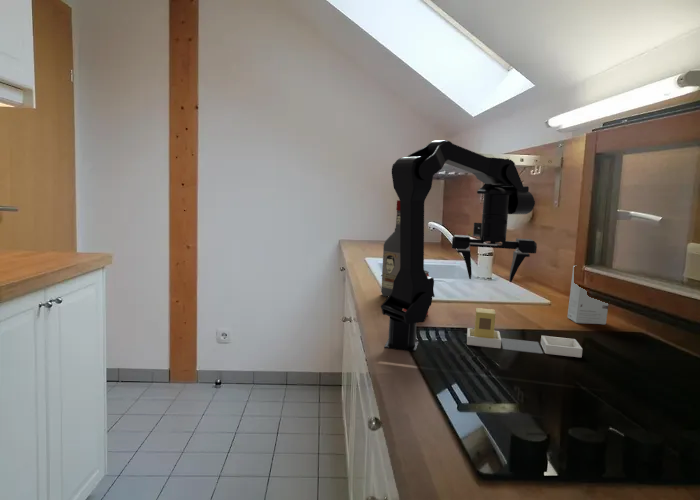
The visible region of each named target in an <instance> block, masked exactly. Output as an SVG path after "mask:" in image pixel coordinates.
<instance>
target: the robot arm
mask: <svg viewBox="0 0 700 500" xmlns="http://www.w3.org/2000/svg"><path fill="white" fill-rule="evenodd" d="M445 164H446V165H449V166H452V167H454V168H457V169H460V170H463V171H466V172H468V173H470V174H471V173H472V175H475V178H476V179H477V180H478V181H480V182H482V183H483V185H482V187H479V189H478V190H477V191H476V194H478V195H483V200H482V215H481V216H482V217H481V222H473V230H472V231H473V233H472V236H473V237H478V238H479V239H477V238H471V237H470V235H463V234H454V235H453V236H452V239H451V249H455V250H456V251H457V253H458V254H462V257H463V260H464V262H465V267H466V271H467V274H468V278H469V280H472V259H471V258H472V257H471V256H472V255H471V249H470V248H471V247H473V248H491V249H505V250H506V249H507V250H513V253H512V262H511V266H510V270H509V271H510V272H509V275H508V276H509V278H508V281H509V282H510V283H512V282H513V279H514V277H515V275H516V273H517V271H518V270H519V267H520V266H521V264H522V263H523V261H524V260H525V258H529V257H531V254H537V250H538V249H537V248H538V246H537V242H536V241H535V240H533V239H531V238H516V239H515V241H512V240H507V233H508V232H507V231H508V221H509V220H508V219H509V217H508V216H509V215H528V214H530V213H531V212H532V211H533V210H534V207H535V206H536V201H535V198H534V195H533V194H532V192H530V191H529V189H530V187H529V186H524V184H523V182H522V178H521V176H520V174H519V171H518V170H517V167H516V164H515V162H514V160H512V159H508V158H500V157H491V156H490V157H489V156H486V155H485V156H484V155H483V154H481V153H480V154H479V153H477V152H475V151H472V150H470V149H467V148H465V147H462V146H461V145H457V144H455V143H453V142H452V141H450V140H447V139H442V140H433V141H431V142H430V143H428V144H426V145H425V146H424V147H421V148H420V149H418V150H416V151H414V152H412V153H410V154H408V155H407V156H406V157H404V156H403V157H400V158H398V159H397V160H396V161H395V162H394V163H393V164H392V166H391V178H392V184H393V189H394V191H395V193H396V195H397V197H398V200H400V270H399V272H398V274H397V276H396V278H395V279H394V283H393V290H392V293H391V294H390V296H389V297H386V299H385V300H384V302H382V304H381V305H380V308H381V313H382V315H384V316H387V317H389V319H388V321H389V322H388V323H389V324H388V325H389V326H388V339H387V341H386V343H385V344H384V349H388V350H389V349H390V350H399V351H405V352H416V350H417V348H418V345H419V341H418V340H416V339H417V337H416V336H417V324H420V323H425V320H426V317H427V316H428V315H427V312H428V313H429V309H430V307H431V305H432V303H433V298H434V297H436V296H435V292H434V288H435V286H434V285H435V280H434V277H432V276H429V277H428V276H427V275H426V273H425V271H426V270H425V268H424V267H425V201H426V199H427V197H428V196H429V193H430V191H431V190H432V186H433V178H434V175H435V174H437V173H438V172H440V171H441V170H443V167H444V165H445ZM424 270H425V271H424ZM404 309H406V310H407V311H406V312H405V311H403V310H404ZM426 315H427V316H426Z"/></svg>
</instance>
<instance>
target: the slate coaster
mask: <svg viewBox="0 0 700 500" xmlns="http://www.w3.org/2000/svg"><path fill="white" fill-rule="evenodd" d="M501 347H502V350H504V351H505V350H506V351H513V352H523V353H531V354H540V355H544V351H543V350H542V349H543V348H541V347H542V346H541V344H540V343H539V341H532V340H531V341H530V340H523V339H513V338H504V337H501Z"/></svg>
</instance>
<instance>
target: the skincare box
mask: <svg viewBox="0 0 700 500" xmlns="http://www.w3.org/2000/svg"><path fill="white" fill-rule="evenodd" d="M575 266H576V265H573V266H572V275H571V283H570V290H569V291H570V292H569V302H568V307H567V308H568V309H567V319H569V320H571V321H572V322H573V323H575V324H585V325H586V324H588V325H606V324H607V318H608V310H609V304H608V303H605V302H602V301H600V300H597V299H594V298H591V297H589V296H588V295H587V291H586V290H585V289H583V288H581V287H579V286H578V285H577V284H575V283H574V267H575Z"/></svg>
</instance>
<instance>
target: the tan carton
mask: <svg viewBox="0 0 700 500" xmlns="http://www.w3.org/2000/svg"><path fill="white" fill-rule="evenodd" d="M474 317H475V319H474V337H483V338H493V339H494V331H495V326H496V325H495V324H496V311H495V309H491V308H490V309H489V308H481V307H476V308H475V316H474Z"/></svg>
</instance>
